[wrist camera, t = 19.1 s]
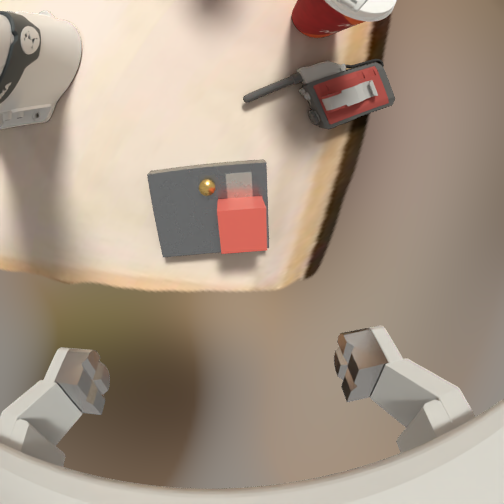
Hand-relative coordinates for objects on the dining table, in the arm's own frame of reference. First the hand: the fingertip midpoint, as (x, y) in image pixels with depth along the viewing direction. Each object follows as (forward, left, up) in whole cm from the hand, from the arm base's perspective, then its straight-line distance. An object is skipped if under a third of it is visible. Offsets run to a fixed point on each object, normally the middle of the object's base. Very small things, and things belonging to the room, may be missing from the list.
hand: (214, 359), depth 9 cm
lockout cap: (+2, -7, -29) cm, 30 cm away
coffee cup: (+13, +20, -31) cm, 39 cm away
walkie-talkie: (+14, +9, -32) cm, 36 cm away
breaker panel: (-2, -6, -31) cm, 32 cm away
